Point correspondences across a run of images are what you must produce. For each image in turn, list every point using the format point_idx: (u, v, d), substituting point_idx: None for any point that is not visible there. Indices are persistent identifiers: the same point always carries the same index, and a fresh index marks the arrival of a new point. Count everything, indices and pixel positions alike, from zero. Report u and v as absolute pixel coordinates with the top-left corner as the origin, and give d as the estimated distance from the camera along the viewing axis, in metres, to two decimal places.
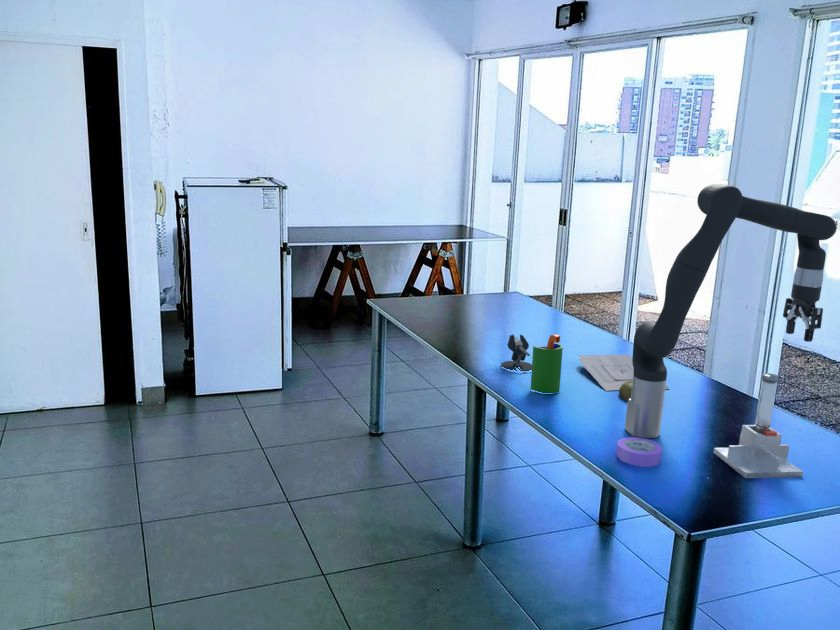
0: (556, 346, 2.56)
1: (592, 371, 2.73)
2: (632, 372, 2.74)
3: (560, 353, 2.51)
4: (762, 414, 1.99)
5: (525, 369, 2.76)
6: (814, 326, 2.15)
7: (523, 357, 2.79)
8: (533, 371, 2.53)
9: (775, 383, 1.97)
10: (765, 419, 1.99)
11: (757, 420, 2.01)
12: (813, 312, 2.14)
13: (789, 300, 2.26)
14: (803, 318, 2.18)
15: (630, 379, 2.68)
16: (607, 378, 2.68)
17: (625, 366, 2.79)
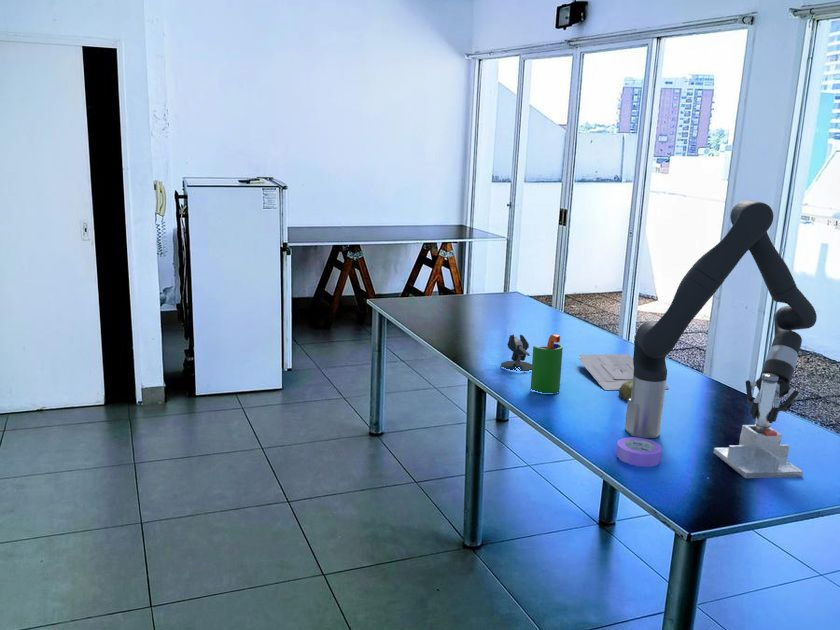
0: (556, 346, 2.56)
1: (592, 370, 2.73)
2: (632, 372, 2.74)
3: (560, 353, 2.51)
4: (762, 414, 1.99)
5: (525, 369, 2.76)
6: None
7: (523, 357, 2.79)
8: (533, 371, 2.53)
9: (775, 383, 1.97)
10: (765, 419, 1.99)
11: (757, 420, 2.01)
12: (794, 394, 1.98)
13: (750, 382, 2.06)
14: (776, 396, 2.00)
15: (629, 379, 2.68)
16: (606, 377, 2.68)
17: (625, 365, 2.79)
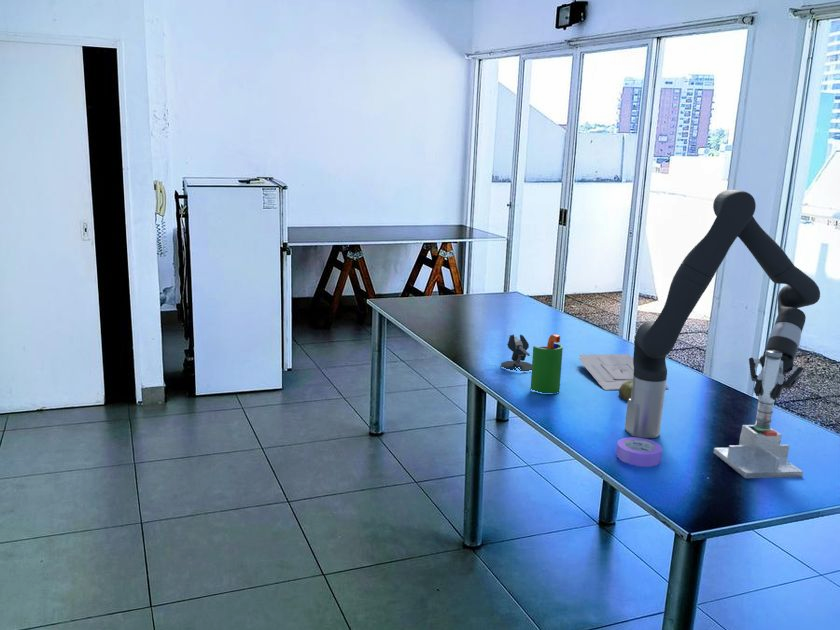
0: (556, 346, 2.56)
1: (592, 370, 2.74)
2: (632, 371, 2.74)
3: (560, 353, 2.51)
4: (766, 391, 1.98)
5: (525, 369, 2.76)
6: (790, 382, 1.96)
7: (523, 357, 2.79)
8: (533, 371, 2.53)
9: (779, 359, 1.96)
10: (769, 396, 1.98)
11: (761, 397, 1.99)
12: (798, 371, 1.97)
13: (753, 359, 2.04)
14: (780, 372, 1.98)
15: (629, 379, 2.68)
16: (606, 377, 2.69)
17: (625, 365, 2.79)
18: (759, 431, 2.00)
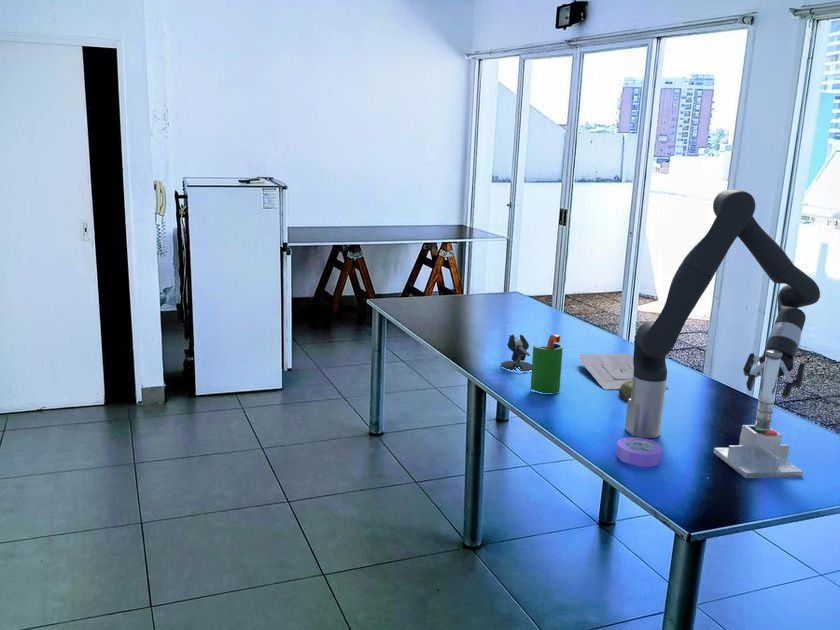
0: (556, 346, 2.56)
1: (592, 370, 2.74)
2: (632, 371, 2.74)
3: (560, 353, 2.51)
4: (766, 391, 1.98)
5: (525, 369, 2.76)
6: (800, 381, 1.95)
7: (523, 357, 2.79)
8: (533, 371, 2.53)
9: (779, 359, 1.96)
10: (769, 396, 1.98)
11: (761, 397, 1.99)
12: (801, 367, 1.97)
13: (754, 356, 2.05)
14: (785, 371, 1.98)
15: (629, 379, 2.68)
16: (606, 377, 2.69)
17: (625, 365, 2.80)
18: (759, 431, 2.00)
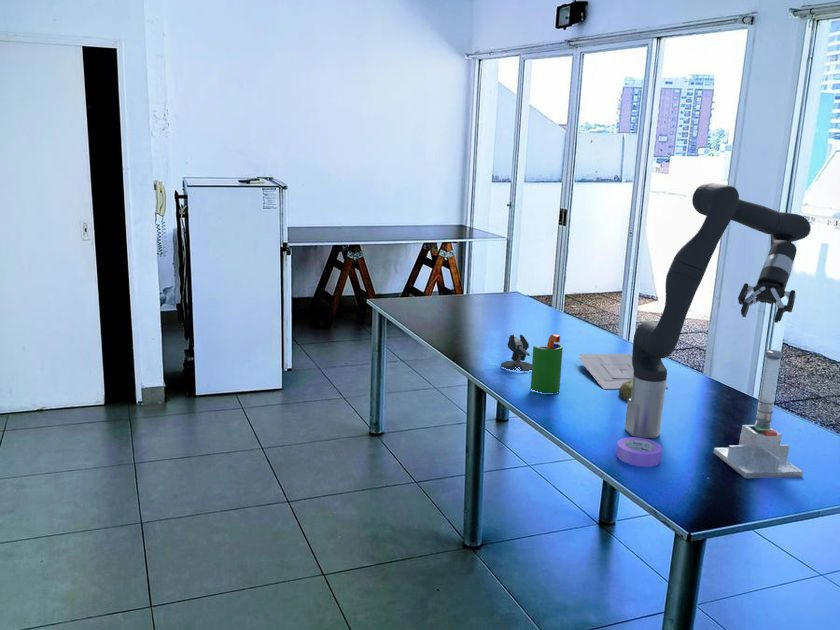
0: (556, 346, 2.56)
1: (592, 369, 2.75)
2: (632, 371, 2.75)
3: (560, 353, 2.51)
4: (766, 391, 1.98)
5: (525, 369, 2.76)
6: (791, 306, 2.09)
7: (523, 357, 2.79)
8: (533, 371, 2.53)
9: (779, 359, 1.96)
10: (769, 396, 1.98)
11: (761, 397, 1.99)
12: (792, 293, 2.11)
13: None
14: (777, 298, 2.11)
15: (629, 378, 2.69)
16: (606, 376, 2.69)
17: (625, 365, 2.80)
18: (759, 431, 2.00)
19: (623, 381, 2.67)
